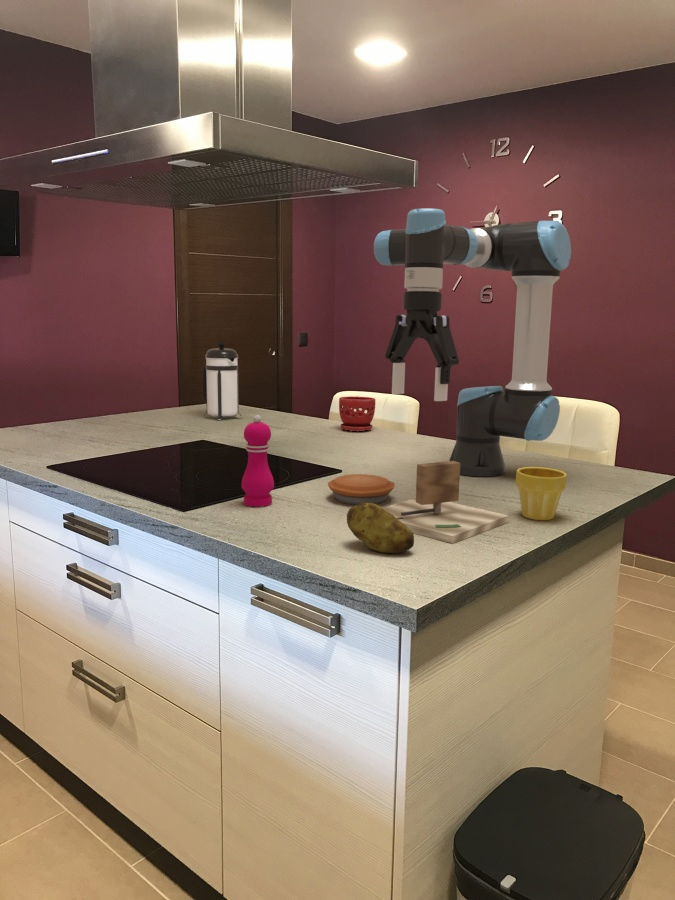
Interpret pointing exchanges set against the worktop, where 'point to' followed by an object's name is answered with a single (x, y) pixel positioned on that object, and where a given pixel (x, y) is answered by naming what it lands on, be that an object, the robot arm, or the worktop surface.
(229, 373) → the coffee press
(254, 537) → the worktop surface
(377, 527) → the potato
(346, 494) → the pie
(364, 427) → the plant pot
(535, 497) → the plant pot
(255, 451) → the pepper mill
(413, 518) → the plate
